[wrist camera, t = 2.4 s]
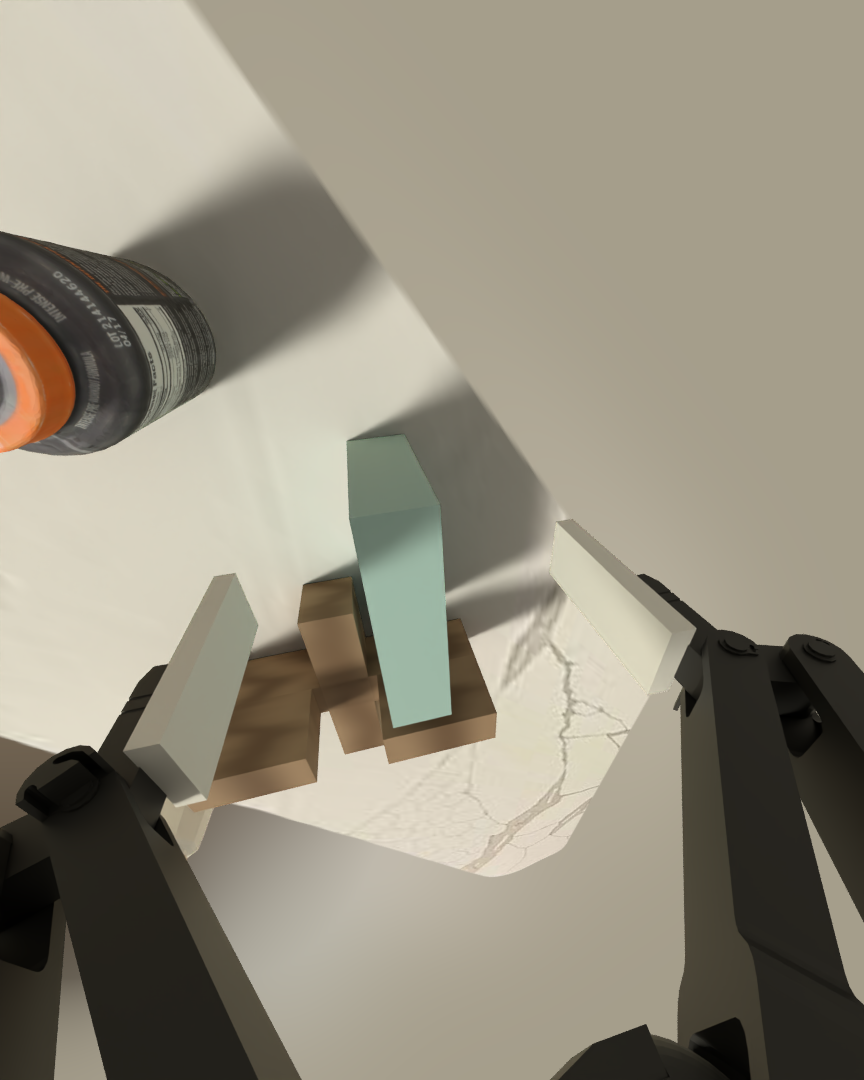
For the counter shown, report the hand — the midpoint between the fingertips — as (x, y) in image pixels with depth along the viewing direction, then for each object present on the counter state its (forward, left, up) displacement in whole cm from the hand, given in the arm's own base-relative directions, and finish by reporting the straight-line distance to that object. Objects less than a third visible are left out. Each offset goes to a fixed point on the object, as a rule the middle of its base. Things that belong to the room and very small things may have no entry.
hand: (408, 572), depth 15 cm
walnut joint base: (+15, -5, -10) cm, 19 cm away
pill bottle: (-9, -10, -10) cm, 17 cm away
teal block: (+4, 0, -10) cm, 11 cm away
